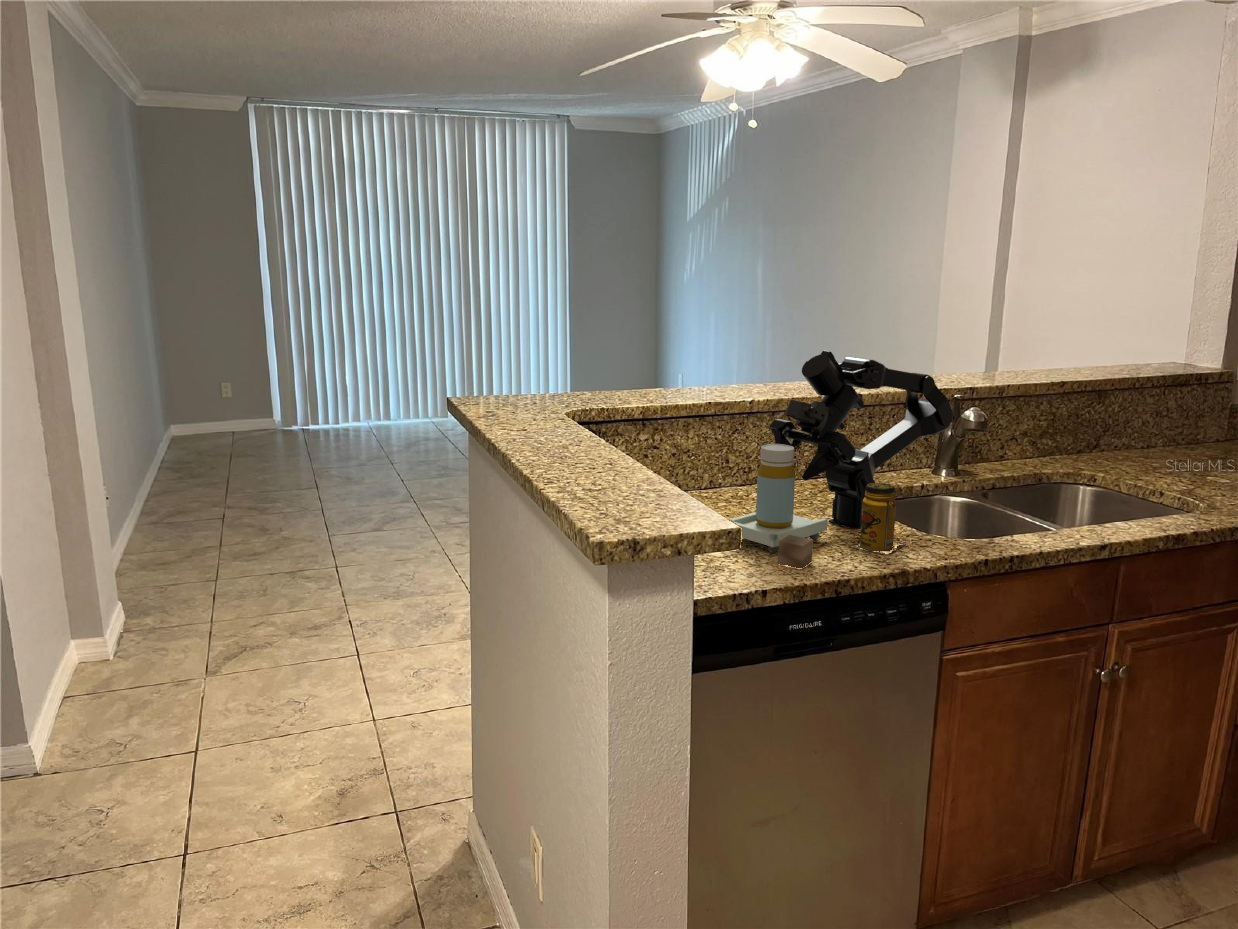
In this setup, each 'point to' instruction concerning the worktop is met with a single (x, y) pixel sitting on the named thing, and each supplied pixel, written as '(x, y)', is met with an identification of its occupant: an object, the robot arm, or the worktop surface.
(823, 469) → the robot arm
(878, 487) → the condiment
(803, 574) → the worktop surface
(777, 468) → the bottle
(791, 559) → the walnut block
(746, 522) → the tray
